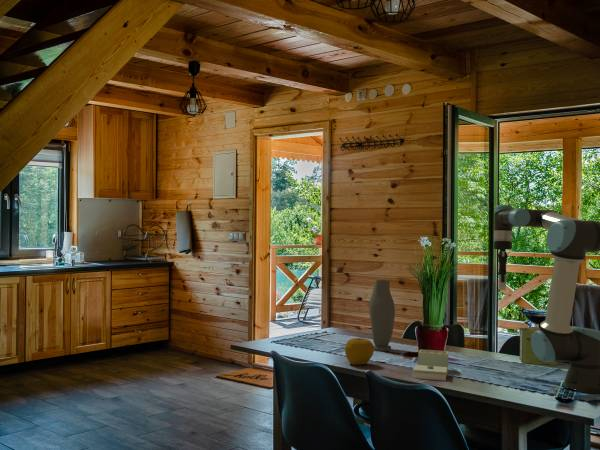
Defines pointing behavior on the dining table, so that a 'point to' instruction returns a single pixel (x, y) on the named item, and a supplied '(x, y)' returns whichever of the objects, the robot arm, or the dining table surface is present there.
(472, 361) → the dining table surface
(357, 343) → the apple
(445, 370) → the lid
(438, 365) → the tub
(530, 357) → the protein box
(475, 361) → the dining table surface
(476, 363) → the dining table surface
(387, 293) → the vase
